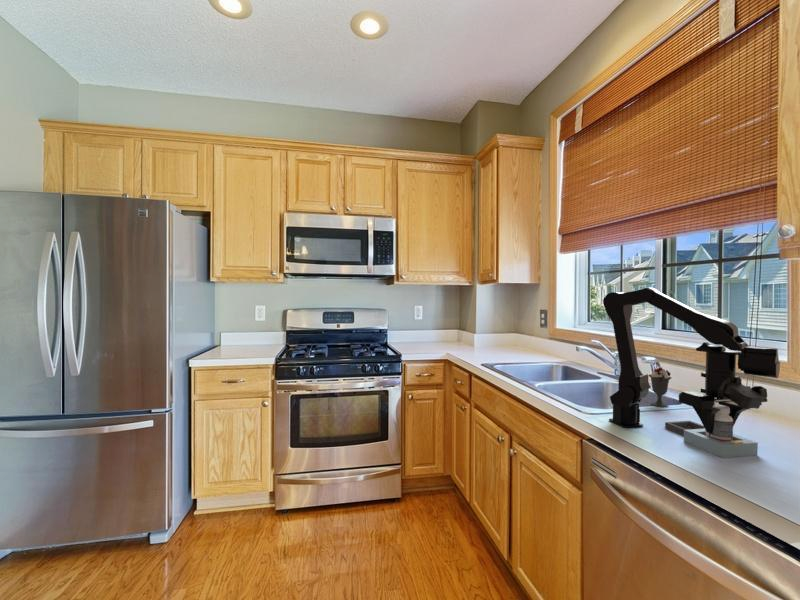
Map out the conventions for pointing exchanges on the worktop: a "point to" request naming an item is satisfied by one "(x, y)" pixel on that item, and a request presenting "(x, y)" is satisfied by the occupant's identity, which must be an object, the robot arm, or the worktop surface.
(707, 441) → the tray
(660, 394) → the sundae
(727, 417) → the pill bottle
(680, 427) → the dark brown square tray
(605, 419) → the worktop surface
